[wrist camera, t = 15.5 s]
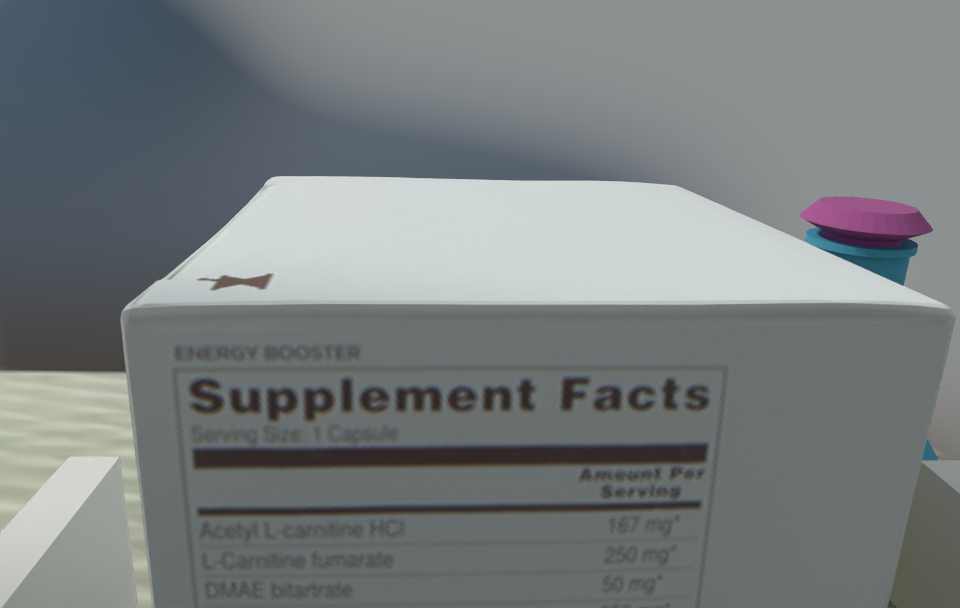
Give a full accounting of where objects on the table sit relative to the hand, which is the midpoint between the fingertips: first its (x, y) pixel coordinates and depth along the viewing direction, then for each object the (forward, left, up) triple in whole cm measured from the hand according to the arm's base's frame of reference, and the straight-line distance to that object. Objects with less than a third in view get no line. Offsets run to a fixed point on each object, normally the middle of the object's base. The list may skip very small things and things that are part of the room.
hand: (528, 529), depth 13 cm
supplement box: (-1, 0, -12) cm, 12 cm away
